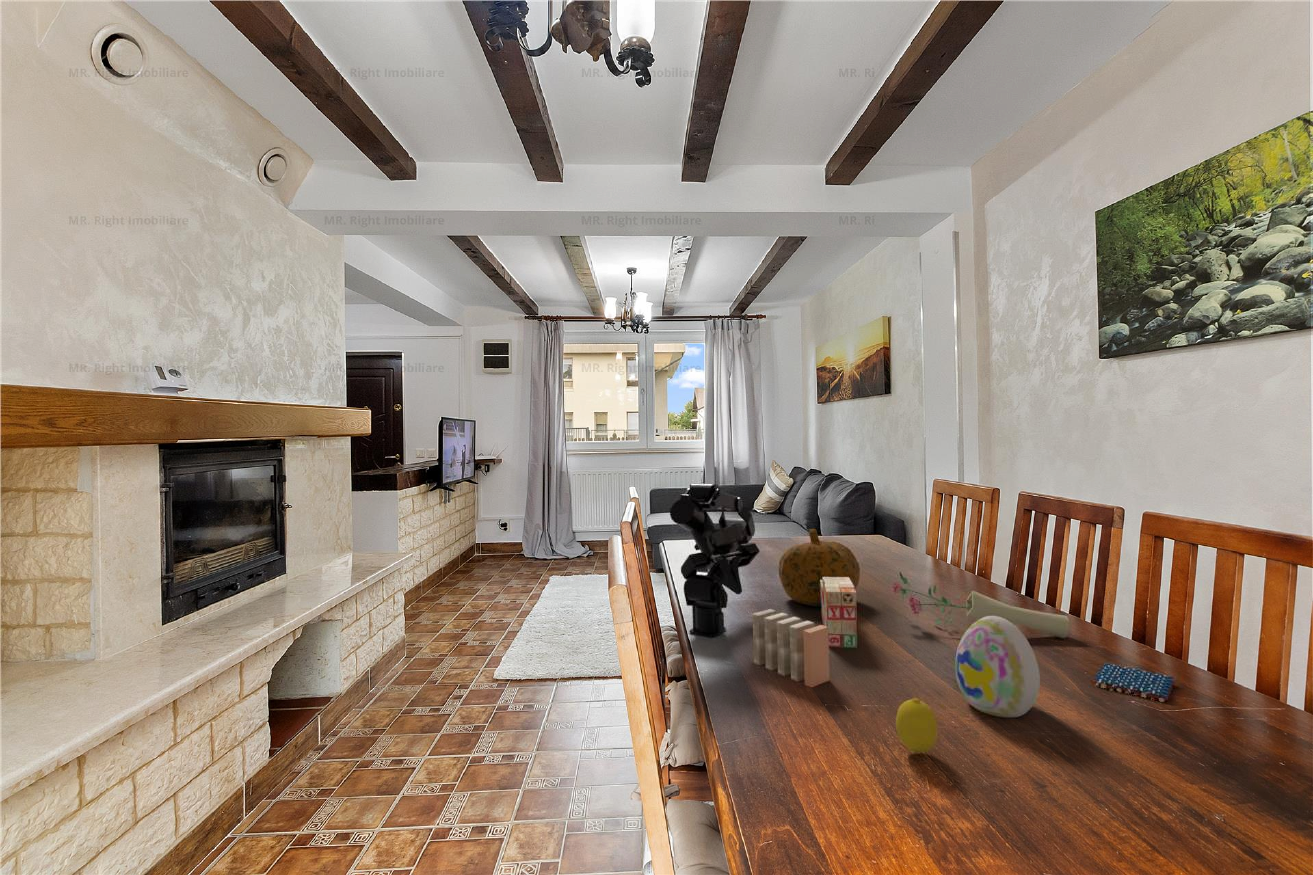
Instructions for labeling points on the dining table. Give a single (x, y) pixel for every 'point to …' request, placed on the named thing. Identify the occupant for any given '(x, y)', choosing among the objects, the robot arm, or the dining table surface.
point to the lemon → (916, 725)
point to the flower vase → (995, 611)
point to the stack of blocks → (839, 611)
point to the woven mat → (1134, 681)
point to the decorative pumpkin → (815, 568)
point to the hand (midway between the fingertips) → (739, 593)
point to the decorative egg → (997, 668)
